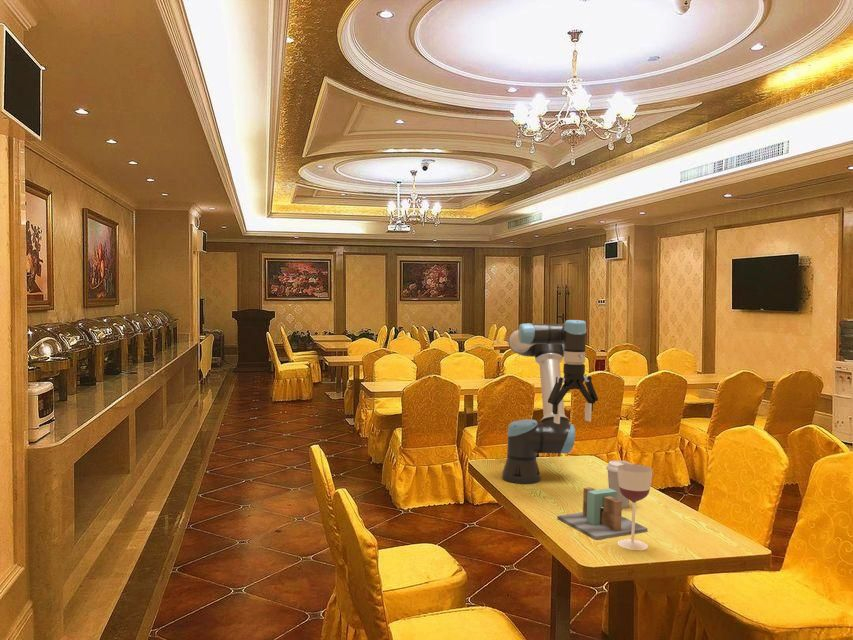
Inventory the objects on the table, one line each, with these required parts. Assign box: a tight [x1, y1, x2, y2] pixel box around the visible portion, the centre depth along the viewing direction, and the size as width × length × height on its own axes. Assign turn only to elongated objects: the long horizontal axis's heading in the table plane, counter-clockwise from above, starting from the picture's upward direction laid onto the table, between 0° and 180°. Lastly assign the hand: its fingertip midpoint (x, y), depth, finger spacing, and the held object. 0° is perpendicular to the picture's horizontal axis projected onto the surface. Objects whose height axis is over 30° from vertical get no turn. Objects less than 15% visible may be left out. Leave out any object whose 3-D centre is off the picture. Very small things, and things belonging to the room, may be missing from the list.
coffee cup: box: [605, 460, 632, 509], centre depth 231 cm, size 10×10×15 cm
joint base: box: [556, 486, 648, 541], centre depth 211 cm, size 20×20×10 cm
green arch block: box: [587, 487, 617, 525], centre depth 211 cm, size 4×9×10 cm, turn 114°
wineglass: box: [617, 463, 654, 551], centre depth 194 cm, size 9×10×23 cm
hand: (572, 422), depth 235 cm, fingers open, 13 cm apart
